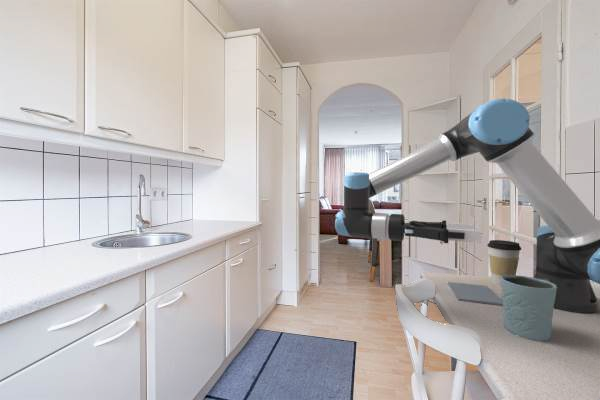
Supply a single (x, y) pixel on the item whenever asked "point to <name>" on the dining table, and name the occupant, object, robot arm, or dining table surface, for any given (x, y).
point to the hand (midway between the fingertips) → (477, 232)
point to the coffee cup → (503, 259)
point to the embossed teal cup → (528, 306)
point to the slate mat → (475, 293)
